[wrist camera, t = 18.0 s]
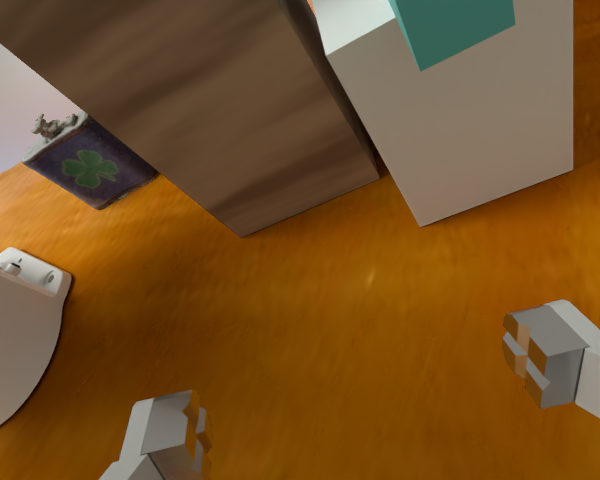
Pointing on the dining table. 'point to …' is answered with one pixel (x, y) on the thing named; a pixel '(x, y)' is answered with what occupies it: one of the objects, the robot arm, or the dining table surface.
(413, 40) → the teal box
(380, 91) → the block
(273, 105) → the walnut stand
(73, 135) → the flask
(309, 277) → the dining table surface
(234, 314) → the dining table surface
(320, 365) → the dining table surface
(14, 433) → the dining table surface
